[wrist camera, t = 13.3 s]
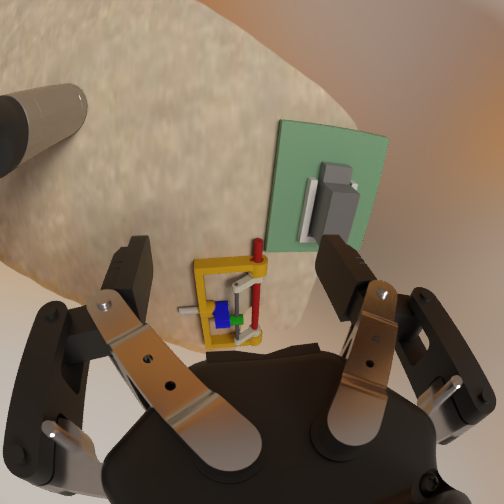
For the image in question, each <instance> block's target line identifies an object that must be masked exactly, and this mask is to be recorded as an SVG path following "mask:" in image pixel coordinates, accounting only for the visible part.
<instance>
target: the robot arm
mask: <svg viewBox="0 0 504 504" xmlns="http://www.w3.org/2000/svg"><path fill="white" fill-rule="evenodd" d="M86 114H87V100H86V97H85V95H84V93H83V91H82V90H81V89H80V88H79V87H77V86H76V85H73V84H59V85H51V86H45V87H39V88H34V89H28V90H24V91H19V92H14V93H11V94H6V95H2V96H0V178H2V177H4V176H5V175H7V174H8V173H10V172H11V171H13V170H14V169H15V168H17V167H18V166H20V165H21V164H23V163H24V162H26V161H27V160H29V159H31V158H32V157H34V156H35V155H37V154H39V153H40V152H42V151H44V150H45V149H47V148H49V147H50V146H52V145H54V144H56V143H58V142H59V141H61V140H63V139H65V138H67V137H69V136H71V135H72V134H74V133H75V132H77V131H78V130H79V129H80V127H81V126H82V124H83V123H84V120H85V118H86ZM315 270H316V273H317V275H318V277H319V279H320V281H321V283H322V285H323V287H324V289H325V291H326V293H327V295H328V297H329V299H330V301H331V303H332V305H333V307H334V309H335V311H336V313H337V315H338V318H339V320H340V321H341V322H344V321H351V326H350V327H349V330H348V333H347V336H346V339H345V341H344V344H343V347H342V349H341V352H340V355H337V354H334V353H330V352H326V351H320V348H319V346H318V343H311V344H303V345H295V346H290V347H287V348H285V349H281V350H278V351H275V352H272V353H269V354H256V353H248V352H241V351H215V352H206V360H205V361H201V362H198V363H196V364H193V365H192V366H190V367H187V366H186V365H185V364H184V363H183V362H182V361H181V360H180V359H179V358H178V357H177V356H176V355H175V354H174V352H173V351H172V350H171V349H170V348H169V347H168V346H167V345H166V343H165V342H164V341H163V340H162V339H161V338H160V337H159V335H158V334H157V333H156V332H155V331H154V330H153V328H152V327H151V326H150V325H149V324H147V323H145V321H146V314H147V308H148V302H149V296H150V290H151V284H152V279H153V262H152V255H151V248H150V240H149V236H148V235H146V236H132V237H131V239H130V242H129V245H128V247H121V248H120V249H119V250H118V251H117V252H116V253H115V254H114V256H113V258H112V261H111V263H110V266H109V269H108V271H107V274H106V276H105V279H104V282H103V284H102V287H101V290H100V291H98V292H96V293H94V294H93V295H91V296H90V298H89V299H88V301H87V305H85V306H81V307H78V308H74V309H69V310H68V309H67V307H66V305H65V304H64V303H63V302H61V301H51V302H49V303H47V304H45V305H44V306H42V307H41V308H40V310H39V311H38V313H37V315H36V318H35V321H34V323H33V326H32V329H31V332H30V334H29V337H28V340H27V343H26V346H25V349H24V353H23V355H22V359H21V362H20V366H19V369H18V373H17V376H16V380H15V384H14V388H13V392H12V397H11V401H10V406H9V411H8V417H7V423H6V430H5V436H4V445H3V458H4V462H5V464H6V466H7V468H8V469H9V471H11V473H12V474H14V475H15V476H17V477H19V478H21V479H23V480H26V481H28V482H29V483H31V484H33V485H35V486H37V487H40V488H43V489H45V490H48V491H50V492H54V493H59V494H62V495H66V496H72V495H75V494H76V493H77V494H82V495H87V496H93V497H99V498H106V499H108V500H109V501H110V503H111V504H471V501H470V500H469V498H468V497H467V496H466V495H465V494H464V493H462V492H460V491H458V490H456V489H454V488H452V487H451V486H449V485H448V484H447V483H446V482H444V480H442V478H441V476H440V475H439V473H438V470H437V465H436V444H437V443H438V444H442V445H446V444H448V443H450V442H451V441H453V440H454V439H456V438H457V437H459V436H460V435H462V434H463V433H465V432H466V431H468V430H469V429H470V428H472V427H473V426H474V425H476V424H477V423H478V422H480V421H481V420H482V419H484V418H485V417H486V416H487V415H489V414H490V413H491V412H492V411H493V410H494V409H495V406H496V397H495V394H494V392H493V389H492V388H491V386H490V384H489V382H488V380H487V378H486V376H485V374H484V373H483V371H482V369H481V367H480V365H479V363H478V362H477V360H476V358H475V356H474V355H473V353H472V351H471V350H470V348H469V346H468V345H467V343H466V341H465V340H464V338H463V337H462V335H461V333H460V332H459V330H458V329H457V327H456V326H455V324H454V323H453V321H452V319H451V318H450V316H449V315H448V313H447V312H446V311H445V309H444V308H443V306H442V305H441V303H440V302H439V300H438V299H437V298H436V296H435V295H434V294H433V293H432V292H431V291H429V290H428V289H425V288H422V287H416V288H414V290H413V291H412V293H411V295H410V296H409V295H403V294H397V291H396V289H395V288H394V287H393V286H392V285H391V284H389V283H388V282H385V281H382V280H377V278H376V277H375V276H374V274H373V273H372V271H371V270H370V269H369V267H368V266H367V264H365V262H364V260H363V259H362V258H361V256H360V255H359V254H358V252H357V251H356V250H355V249H354V248H352V247H351V246H350V245H348V244H346V243H345V242H344V241H343V239H342V238H341V237H340V235H338V234H324V235H323V236H322V238H321V241H320V245H319V249H318V253H317V257H316V261H315ZM422 329H423V330H424V332H425V333H426V335H427V337H428V339H429V342H430V343H429V348H428V350H426V348H425V346H424V344H423V343H422V341H421V339H420V337H419V333H420V332H421V330H422ZM394 349H395V351H396V353H397V355H398V357H399V359H400V361H401V363H402V366H403V368H404V370H405V372H406V374H407V377H408V379H409V381H410V383H411V386H412V388H413V390H414V392H415V395H416V397H417V399H418V401H417V406H416V405H415V404H413V403H412V402H410V401H408V400H407V399H405V398H404V397H402V396H401V395H399V394H398V393H396V392H394V391H393V390H391V389H390V388H388V387H387V384H388V380H389V375H390V370H391V365H392V360H393V355H394ZM105 356H109V358H110V359H111V361H112V362H113V364H114V365H115V367H116V369H117V370H118V372H119V373H120V375H121V376H122V378H123V379H124V381H125V382H126V383H127V385H128V386H129V388H130V389H131V390H132V392H133V393H134V395H135V397H136V399H137V400H138V401H139V403H140V404H141V406H142V407H143V408H144V409H145V411H146V412H145V413H144V414H143V415H142V416H141V417H140V419H139V420H138V421H137V422H136V423H135V424H134V425H133V426H132V427H131V429H130V430H129V431H128V432H127V433H126V434H125V435H124V436H123V438H122V439H121V440H120V441H119V442H118V443H117V444H116V445H115V446H114V447H113V449H112V450H111V451H110V452H109V453H108V455H107V456H106V458H105V460H104V462H103V463H100V462H99V460H98V459H97V457H96V454H95V448H94V444H93V442H92V440H91V439H90V437H89V436H88V435H87V434H85V433H84V432H83V431H82V423H83V410H84V400H85V391H86V384H87V376H88V369H89V363H90V360H92V359H96V358H101V357H105Z"/></svg>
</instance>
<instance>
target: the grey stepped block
mask: <svg viewBox="0 0 504 504" xmlns="http://www.w3.org/2000/svg"><path fill="white" fill-rule="evenodd" d="M352 172H353V168H352V167H351V166H350V165H348V164H341V163H332V162H323V161H322V164H321V169H320V175H319V180H318V185H317V191H316V196H315V201H314V206H313V211H312V216H311V221H310V225H309V231H310V232H311V234H312V236H313V237H314V239H315V240H316V242H317V244H318V245H320V241H321V238H322V236H323V235H324V234H338V235H340V237H341V238H342V239H343V241H344V242H345V243H346V244H347V242H348V238H349V235H350V231H351V228H352V224H353V221H354V217H355V213H356V210H357V206H358V202H359V198H360V195H361V194H360V193H359V192H358V191H356V190H355V189H354V188H353V187H352V186H351V185H350V181H351V177H352Z"/></svg>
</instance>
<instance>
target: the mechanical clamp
mask: <svg viewBox="0 0 504 504" xmlns="http://www.w3.org/2000/svg"><path fill="white" fill-rule="evenodd" d="M262 246H263V240H262V239H260V238H257V239H255V240H254V255H252V256H238V257H223V258H208V259H194V273H195V281H196V288H197V296H198V303H199V307H183V308H179V314H180V315H183V314H199V313H200V317H201V322H202V329H203V335H204V341H205V347H206V349H212V348H225V347H236V346H246V345H252V346H257V345H259V344H260V343H261V341H262V330H261V329H260V325H258V317H259V300H260V283H261V282H263V280H264V276H265V275H266V274H267V264H268V259H267V257H266V256H264V255H262ZM235 272H248V274H249V275H247V276H245V277H243V278H241V279H240V280H238V281H236V282H234V283H233V284H232V290H233V292H234V293H235V315H229V304H228V301H220V302H214V301H213V300H210V301H206V292H205V284H204V275H207V274H221V273H235ZM252 285H253V297H252V324H251V325H250V326H249V328H248V329H247V330H245V331H244V332H242V333H239V325H243V314H239V292H241V291H243V290H245V289H246V288H248V287H250V286H252ZM209 318H215V325H216V329H217V328H229V327H230V326H232V325H235V329H236V334H226V335H213V336H211V333H210V325H209Z"/></svg>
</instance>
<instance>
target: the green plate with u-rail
mask: <svg viewBox="0 0 504 504" xmlns="http://www.w3.org/2000/svg"><path fill="white" fill-rule="evenodd" d="M388 143H389V138H388V137H385V136H381V135H376V134H372V133H367V132H362V131H357V130H352V129H347V128H341V127H335V126H329V125H322V124H315V123H308V122H300V121H291V120H281V119H280V124H279V133H278V142H277V150H276V159H275V167H274V175H273V184H272V192H271V200H270V208H269V216H268V224H267V232H266V240H265V251H266V252H314V251H318V249H319V245H318V244H317V242H316V240H315V239H314V237H313V236H312V234H311V232H310V231H309V225H310V221H311V216H312V211H313V206H314V201H315V196H316V191H317V185H318V180H319V175H320V169H321V164H322V161H323V162H332V163H341V164H348V165H350V166H351V167H352V168H353V172H352V177H351V181H350V185H351V186H352V187H353V188H354V189H355V190H356V191H358V192H359V193H360V194H361V195H360V198H359V202H358V206H357V210H356V213H355V217H354V221H353V224H352V228H351V231H350V235H349V238H348V242H347V244H348V245H350V246H351V247H352V248H354V249H355V250H356V251H359V249H360V247H361V244H362V241H363V237H364V234H365V231H366V228H367V224H368V221H369V217H370V214H371V211H372V207H373V204H374V200H375V196H376V193H377V189H378V185H379V181H380V178H381V173H382V169H383V165H384V161H385V157H386V152H387V148H388Z"/></svg>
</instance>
